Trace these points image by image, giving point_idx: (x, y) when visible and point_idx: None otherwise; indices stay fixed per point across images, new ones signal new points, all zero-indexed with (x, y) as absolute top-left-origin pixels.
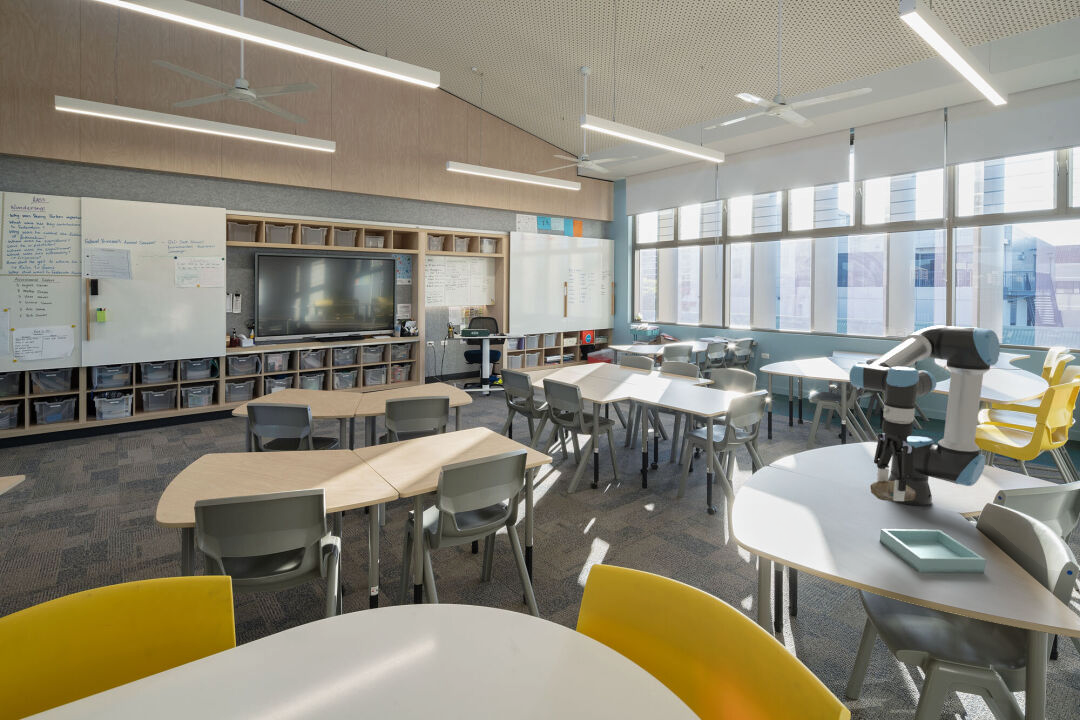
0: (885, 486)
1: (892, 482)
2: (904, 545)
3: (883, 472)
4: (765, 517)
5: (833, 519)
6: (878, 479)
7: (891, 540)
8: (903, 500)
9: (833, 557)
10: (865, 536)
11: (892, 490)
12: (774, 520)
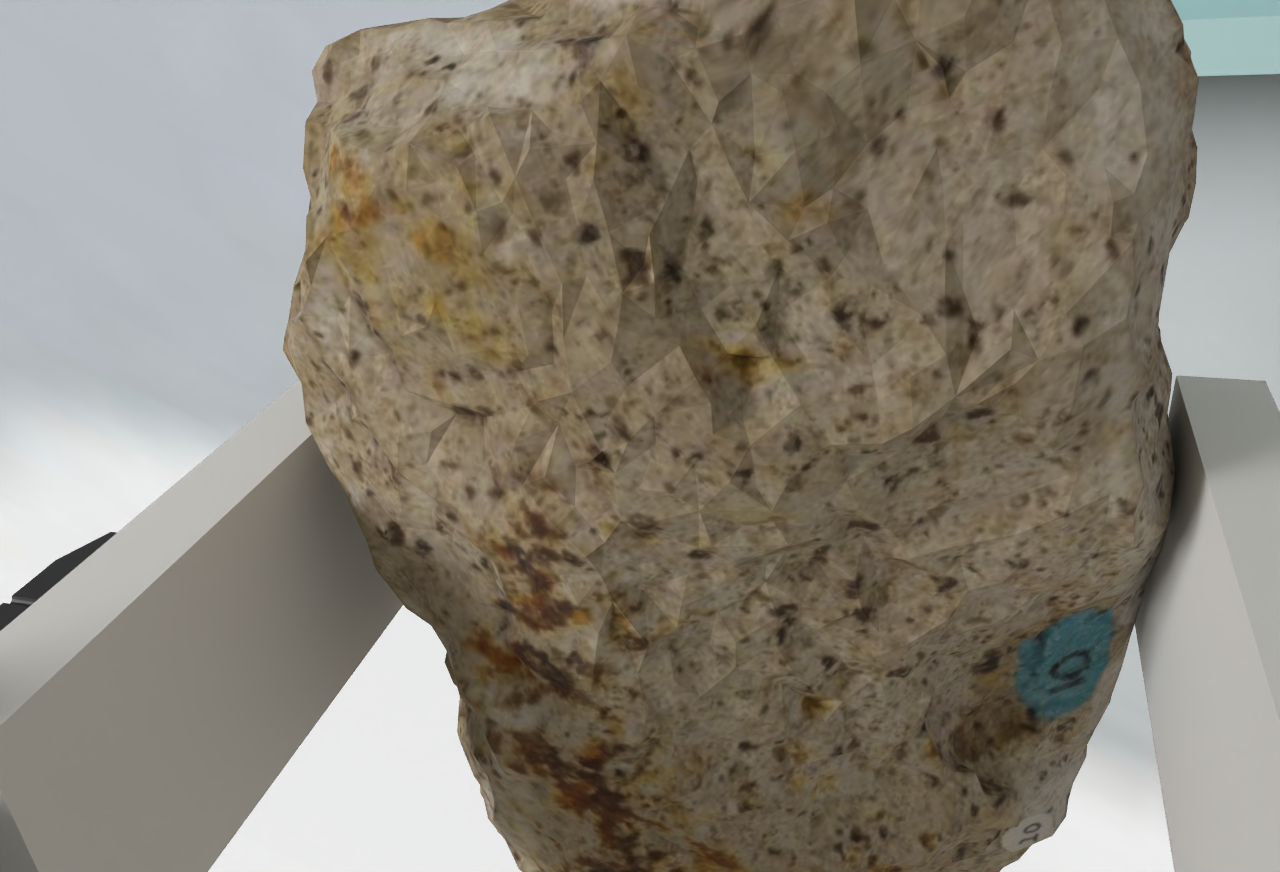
0: (840, 847)
1: (599, 589)
2: (1238, 53)
3: (151, 803)
4: (363, 822)
5: (235, 291)
6: (311, 706)
7: None
8: (1260, 400)
9: (1103, 738)
10: None
11: (944, 658)
12: (404, 792)
